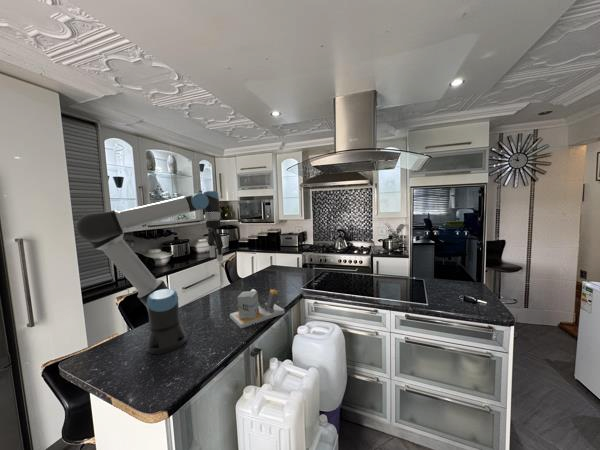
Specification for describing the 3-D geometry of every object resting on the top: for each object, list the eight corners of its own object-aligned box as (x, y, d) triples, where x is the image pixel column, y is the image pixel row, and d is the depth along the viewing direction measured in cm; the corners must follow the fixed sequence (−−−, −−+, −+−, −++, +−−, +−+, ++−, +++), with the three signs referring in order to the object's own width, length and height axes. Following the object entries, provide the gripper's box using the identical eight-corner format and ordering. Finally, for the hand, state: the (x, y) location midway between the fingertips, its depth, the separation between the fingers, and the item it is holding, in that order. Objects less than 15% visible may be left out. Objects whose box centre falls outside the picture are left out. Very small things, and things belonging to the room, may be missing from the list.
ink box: (243, 312, 133) (242, 290, 132) (259, 311, 132) (257, 290, 131) (238, 319, 124) (236, 296, 123) (254, 319, 123) (253, 296, 122)
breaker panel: (241, 328, 119) (240, 320, 119) (230, 317, 132) (229, 309, 132) (284, 313, 134) (284, 305, 133) (270, 304, 147) (270, 297, 146)
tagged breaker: (268, 311, 131) (273, 290, 132) (264, 309, 134) (270, 289, 135) (272, 311, 132) (277, 291, 134) (269, 309, 135) (274, 289, 137)
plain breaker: (262, 307, 138) (252, 293, 135) (259, 305, 142) (249, 291, 138) (265, 304, 140) (255, 290, 136) (262, 302, 143) (252, 288, 139)
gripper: (227, 219, 124) (230, 261, 125) (213, 219, 144) (216, 254, 146) (212, 221, 120) (215, 263, 121) (200, 220, 140) (203, 256, 142)
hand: (216, 258), depth 133 cm, fingers open, 13 cm apart
